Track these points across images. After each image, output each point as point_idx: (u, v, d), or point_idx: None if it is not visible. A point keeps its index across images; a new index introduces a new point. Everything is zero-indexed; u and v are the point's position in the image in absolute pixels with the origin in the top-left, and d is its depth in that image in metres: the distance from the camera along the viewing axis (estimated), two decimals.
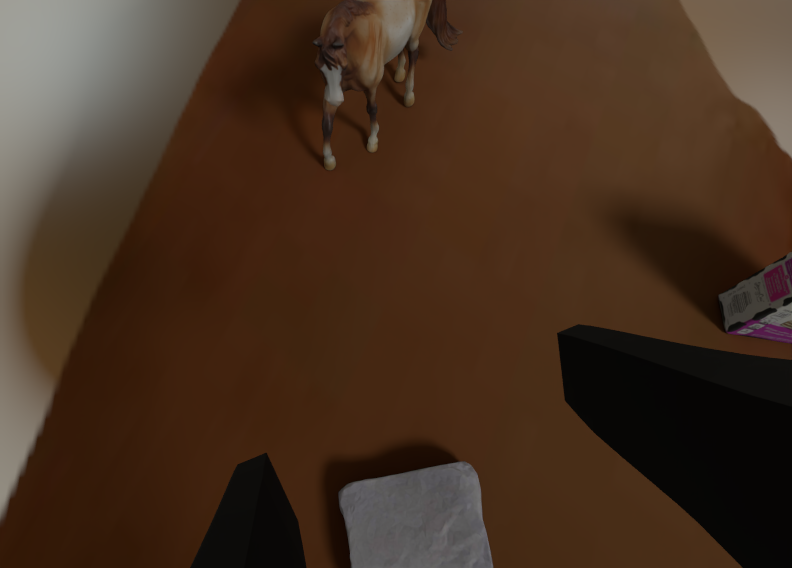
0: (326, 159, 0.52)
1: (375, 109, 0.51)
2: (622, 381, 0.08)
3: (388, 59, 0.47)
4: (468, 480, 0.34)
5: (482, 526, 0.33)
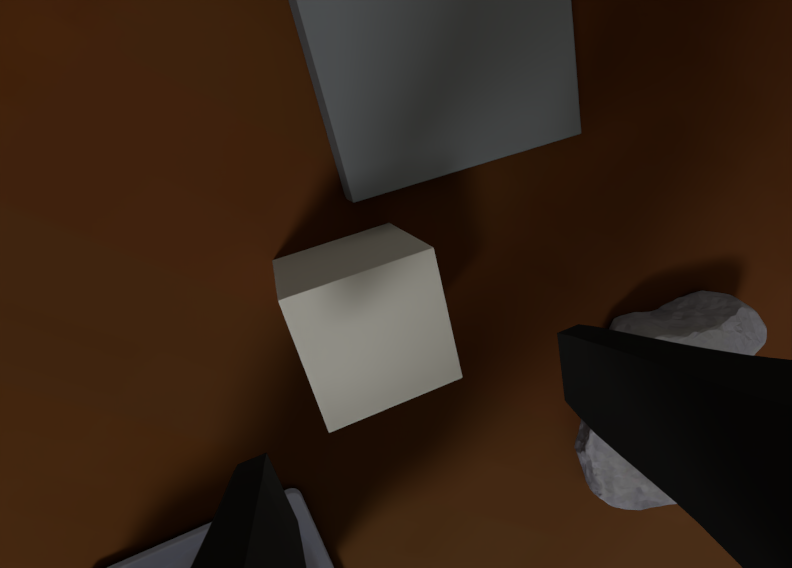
0: None
1: None
2: (622, 381, 0.08)
3: None
4: None
5: None
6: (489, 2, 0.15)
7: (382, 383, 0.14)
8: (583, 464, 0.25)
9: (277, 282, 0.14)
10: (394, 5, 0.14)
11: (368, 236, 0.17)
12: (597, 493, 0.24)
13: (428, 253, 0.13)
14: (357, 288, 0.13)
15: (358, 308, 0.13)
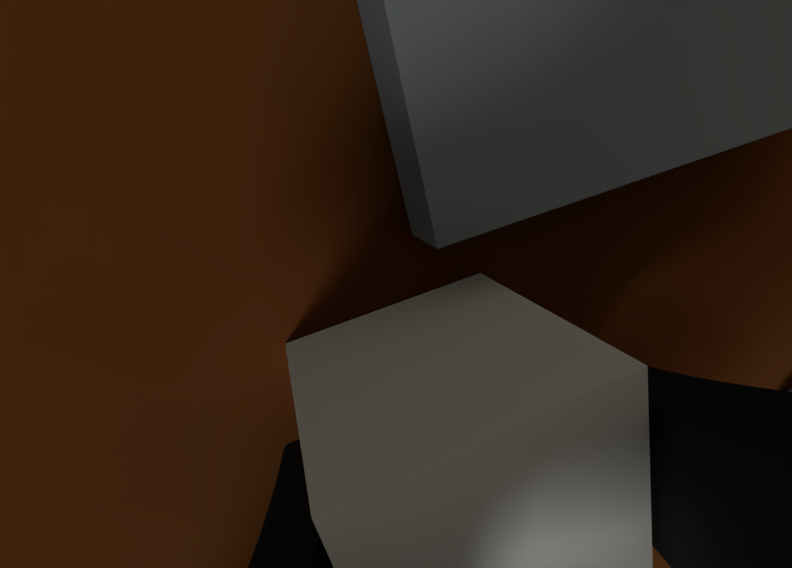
0: None
1: None
2: None
3: None
4: None
5: None
6: None
7: None
8: None
9: (302, 427, 0.07)
10: None
11: (457, 304, 0.09)
12: None
13: (635, 378, 0.06)
14: (488, 465, 0.06)
15: (485, 505, 0.06)
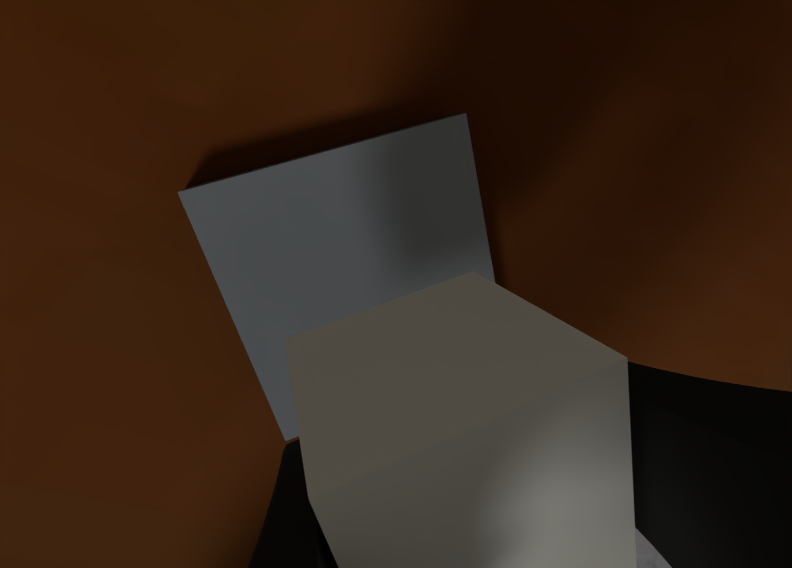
0: None
1: None
2: None
3: None
4: None
5: None
6: (409, 263, 0.16)
7: None
8: None
9: (300, 417, 0.07)
10: (316, 281, 0.15)
11: (450, 301, 0.10)
12: None
13: (615, 369, 0.06)
14: (475, 451, 0.06)
15: (473, 489, 0.06)
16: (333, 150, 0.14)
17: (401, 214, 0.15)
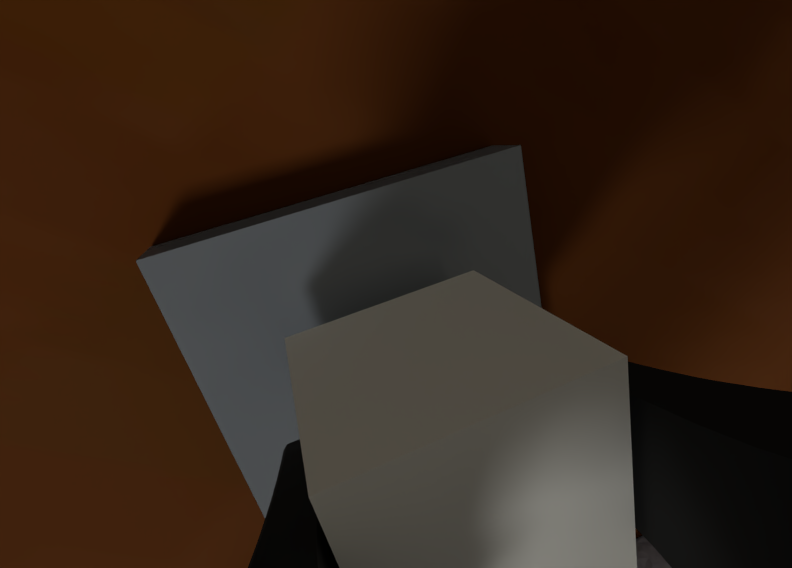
0: None
1: None
2: None
3: None
4: None
5: None
6: None
7: None
8: None
9: (300, 415, 0.07)
10: None
11: (450, 300, 0.10)
12: None
13: (616, 368, 0.06)
14: (476, 450, 0.06)
15: (473, 487, 0.06)
16: (348, 198, 0.11)
17: (434, 275, 0.12)
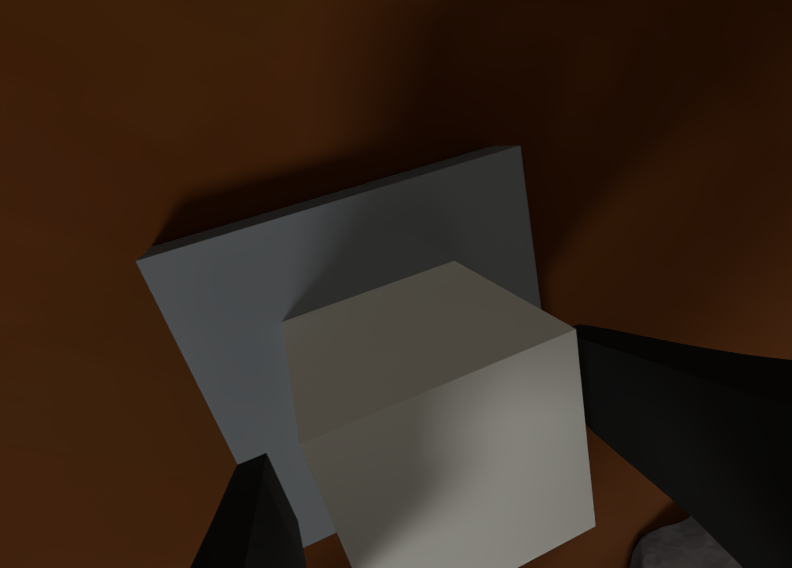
0: None
1: None
2: (622, 381, 0.08)
3: None
4: None
5: None
6: None
7: (473, 553, 0.08)
8: None
9: (294, 383, 0.08)
10: None
11: (431, 287, 0.11)
12: None
13: (566, 339, 0.07)
14: (444, 408, 0.07)
15: (442, 442, 0.07)
16: (347, 198, 0.11)
17: None
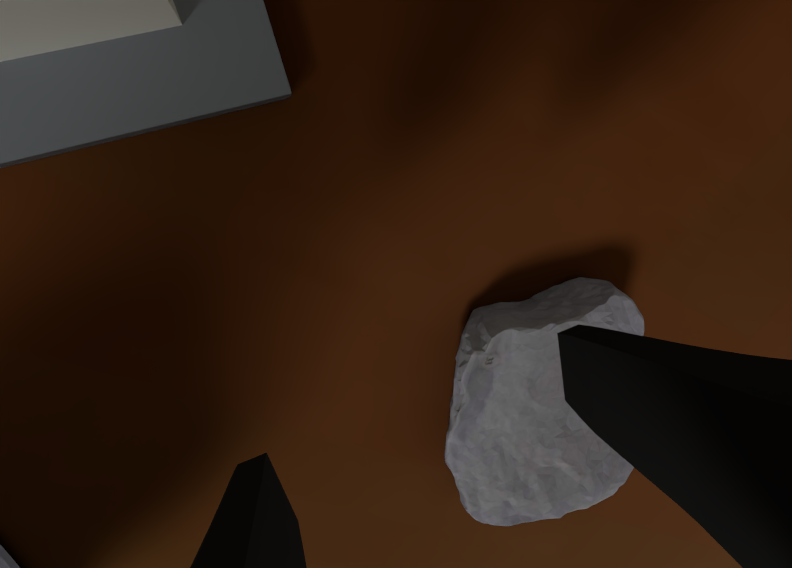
0: None
1: None
2: (622, 381, 0.08)
3: None
4: (613, 490, 0.22)
5: (558, 516, 0.21)
6: None
7: None
8: None
9: None
10: None
11: None
12: (465, 507, 0.22)
13: None
14: None
15: None
16: None
17: None
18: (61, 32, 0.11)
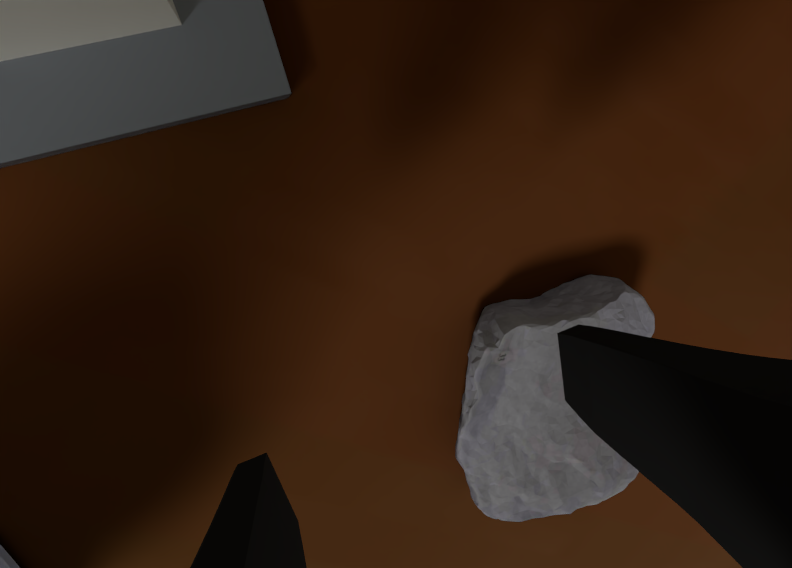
0: None
1: None
2: (622, 381, 0.08)
3: None
4: (623, 486, 0.22)
5: (569, 512, 0.21)
6: None
7: None
8: None
9: None
10: None
11: None
12: (475, 502, 0.22)
13: None
14: None
15: None
16: None
17: None
18: (60, 32, 0.11)
